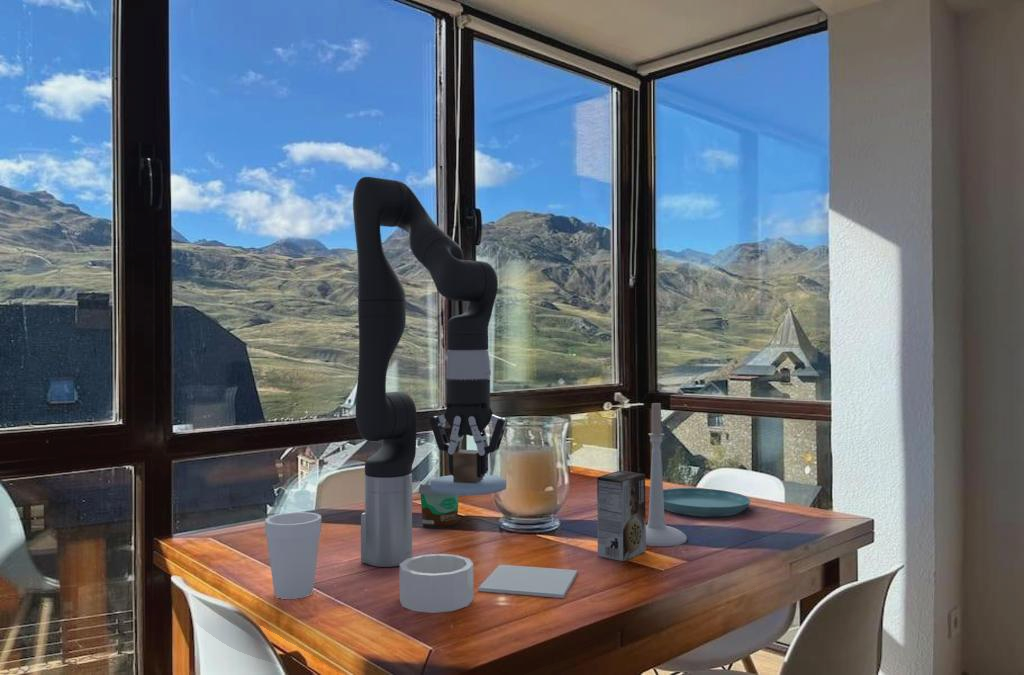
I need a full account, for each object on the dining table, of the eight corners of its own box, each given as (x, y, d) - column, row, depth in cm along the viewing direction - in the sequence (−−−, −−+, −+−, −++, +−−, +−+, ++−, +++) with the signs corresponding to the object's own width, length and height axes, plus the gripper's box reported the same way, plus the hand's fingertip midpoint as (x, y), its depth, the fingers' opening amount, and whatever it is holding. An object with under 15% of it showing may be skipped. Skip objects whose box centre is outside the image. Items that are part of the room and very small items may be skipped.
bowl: (388, 608, 126) (388, 572, 126) (416, 585, 137) (416, 552, 137) (459, 615, 123) (458, 577, 123) (481, 591, 134) (481, 556, 134)
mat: (478, 591, 134) (478, 587, 134) (499, 567, 148) (499, 564, 148) (563, 598, 131) (563, 594, 131) (577, 573, 144) (577, 570, 144)
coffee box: (619, 546, 163) (619, 469, 163) (646, 551, 159) (646, 473, 159) (596, 556, 156) (595, 476, 156) (623, 562, 152) (623, 479, 152)
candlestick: (630, 546, 163) (630, 403, 163) (623, 531, 176) (623, 398, 176) (692, 546, 163) (691, 403, 163) (680, 531, 175) (680, 398, 175)
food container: (438, 531, 176) (437, 487, 176) (418, 527, 179) (418, 484, 179) (473, 521, 186) (472, 479, 186) (453, 517, 189) (453, 476, 189)
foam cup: (327, 584, 138) (326, 511, 138) (315, 602, 129) (315, 524, 129) (273, 585, 138) (273, 512, 138) (258, 603, 129) (257, 525, 129)
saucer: (750, 523, 184) (749, 509, 184) (647, 516, 191) (647, 503, 191) (751, 502, 207) (751, 490, 207) (659, 497, 214) (659, 485, 214)
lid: (418, 493, 128) (418, 455, 128) (446, 479, 141) (446, 445, 141) (493, 497, 125) (493, 458, 125) (514, 482, 137) (514, 447, 137)
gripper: (421, 377, 131) (421, 478, 131) (501, 377, 127) (502, 482, 127) (437, 375, 139) (437, 470, 139) (513, 375, 135) (514, 474, 135)
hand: (468, 475), depth 133 cm, fingers closed on lid, 4 cm apart
